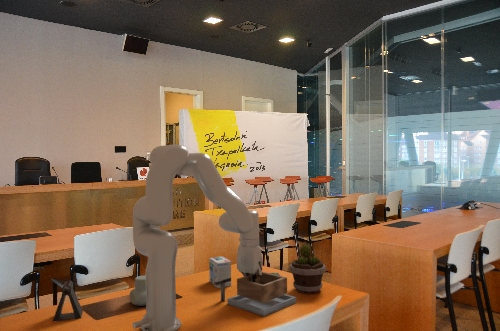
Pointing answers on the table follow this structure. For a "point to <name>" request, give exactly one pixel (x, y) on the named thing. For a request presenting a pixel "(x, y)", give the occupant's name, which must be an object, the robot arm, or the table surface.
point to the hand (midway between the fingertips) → (250, 289)
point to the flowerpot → (307, 271)
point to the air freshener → (139, 291)
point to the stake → (222, 286)
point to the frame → (262, 287)
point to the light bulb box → (219, 270)
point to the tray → (261, 304)
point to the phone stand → (74, 302)
